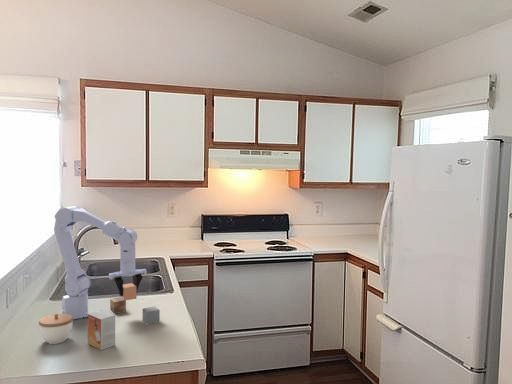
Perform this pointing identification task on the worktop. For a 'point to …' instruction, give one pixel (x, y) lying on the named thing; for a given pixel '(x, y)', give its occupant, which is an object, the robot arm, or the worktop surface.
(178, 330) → the worktop surface
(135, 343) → the worktop surface
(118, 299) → the walnut cube
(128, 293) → the terracotta cube
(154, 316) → the slate cube
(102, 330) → the small box
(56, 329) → the lidded jar
